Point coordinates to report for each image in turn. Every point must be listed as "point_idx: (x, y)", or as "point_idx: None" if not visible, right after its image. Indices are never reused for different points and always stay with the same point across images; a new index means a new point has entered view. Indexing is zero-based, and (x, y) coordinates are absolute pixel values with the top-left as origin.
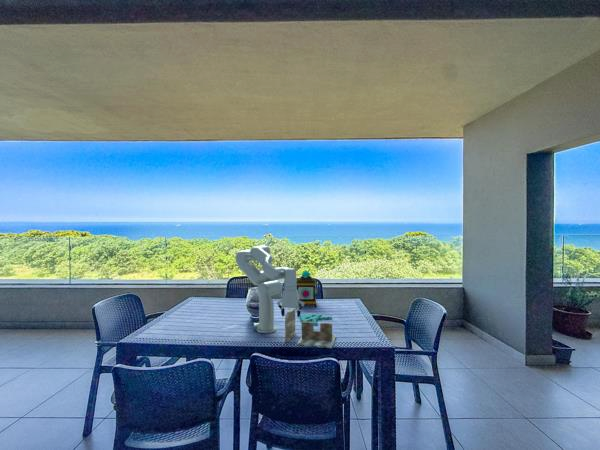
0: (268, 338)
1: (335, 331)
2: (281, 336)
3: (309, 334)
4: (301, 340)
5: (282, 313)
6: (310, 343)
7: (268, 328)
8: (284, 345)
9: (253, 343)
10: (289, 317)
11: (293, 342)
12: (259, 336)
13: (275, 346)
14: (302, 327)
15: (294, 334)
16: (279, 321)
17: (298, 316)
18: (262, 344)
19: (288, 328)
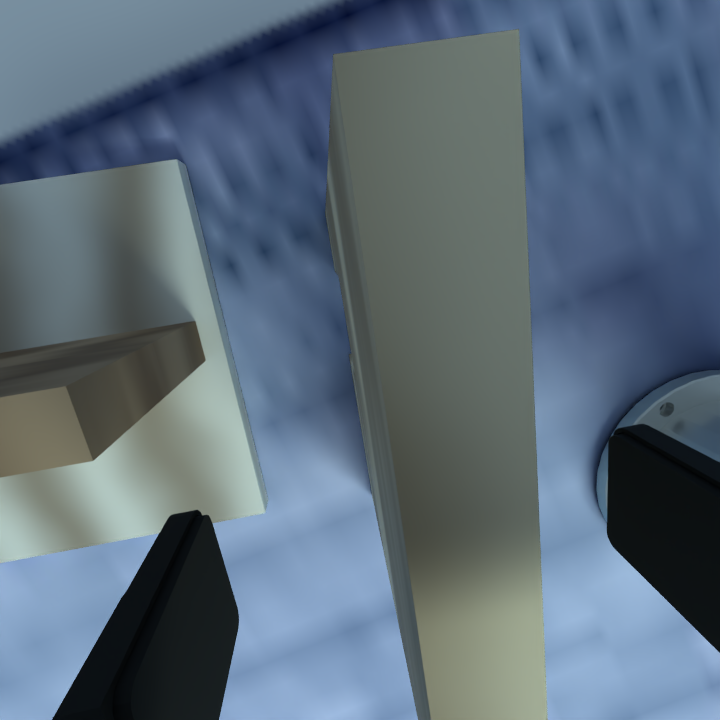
0: (592, 250)
1: (16, 702)
2: None
3: (52, 353)
4: (172, 273)
5: (701, 462)
6: (7, 212)
7: (687, 433)
8: (327, 97)
9: (709, 17)
10: (354, 278)
11: (271, 238)
12: (707, 270)
13: (417, 17)
14: (108, 356)
15: (367, 466)
16: (640, 709)
17: (168, 533)
18: (594, 25)
19: (327, 190)
